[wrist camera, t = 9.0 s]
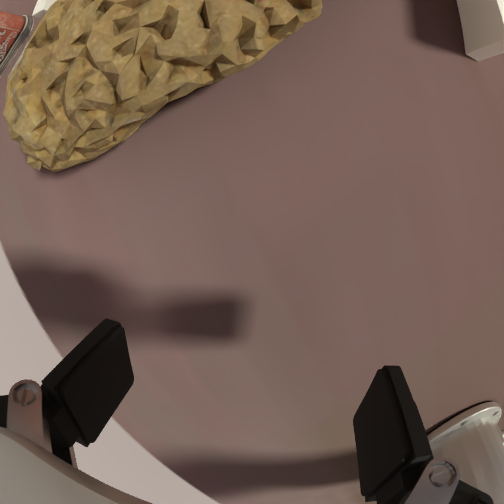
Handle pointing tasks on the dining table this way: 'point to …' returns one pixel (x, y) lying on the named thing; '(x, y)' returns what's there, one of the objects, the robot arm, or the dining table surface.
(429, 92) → the dining table surface
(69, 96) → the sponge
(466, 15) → the box
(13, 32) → the lighter
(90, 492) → the robot arm
